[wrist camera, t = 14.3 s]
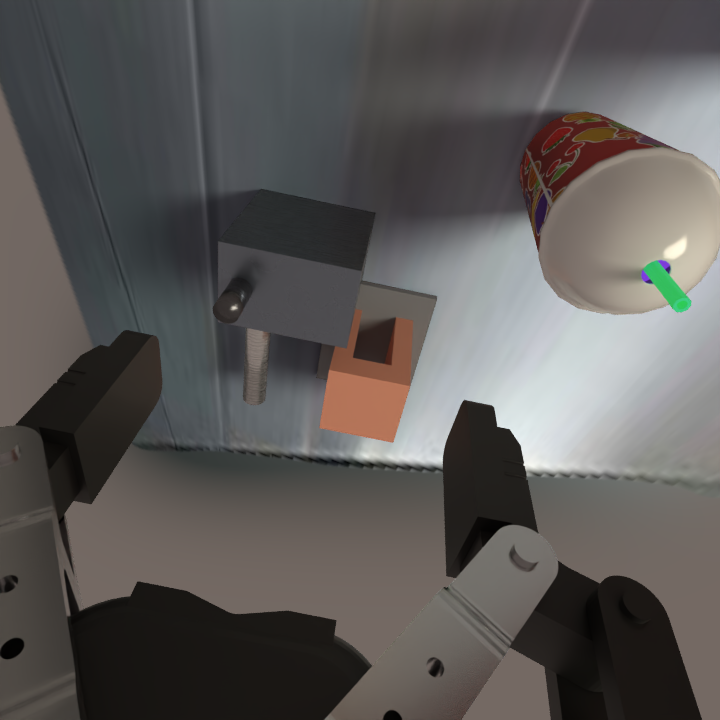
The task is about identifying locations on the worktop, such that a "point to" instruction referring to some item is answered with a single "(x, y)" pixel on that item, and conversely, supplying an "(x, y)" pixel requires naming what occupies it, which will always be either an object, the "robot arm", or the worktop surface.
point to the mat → (384, 324)
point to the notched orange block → (369, 386)
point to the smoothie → (619, 215)
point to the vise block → (290, 276)
